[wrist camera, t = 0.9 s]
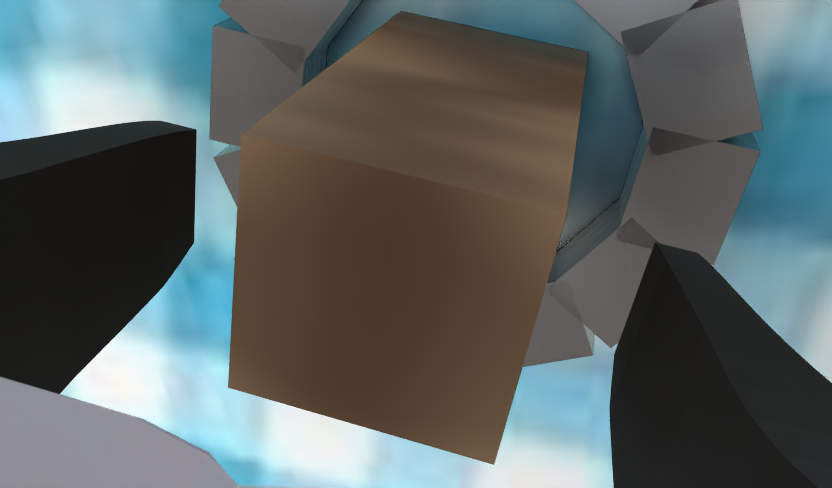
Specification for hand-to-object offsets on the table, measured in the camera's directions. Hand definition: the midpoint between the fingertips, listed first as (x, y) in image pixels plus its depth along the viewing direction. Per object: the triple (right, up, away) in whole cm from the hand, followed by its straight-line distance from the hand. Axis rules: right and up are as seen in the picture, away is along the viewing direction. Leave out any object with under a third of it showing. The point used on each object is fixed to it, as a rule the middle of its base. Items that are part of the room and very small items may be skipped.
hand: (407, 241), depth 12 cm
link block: (+1, +3, +5) cm, 6 cm away
